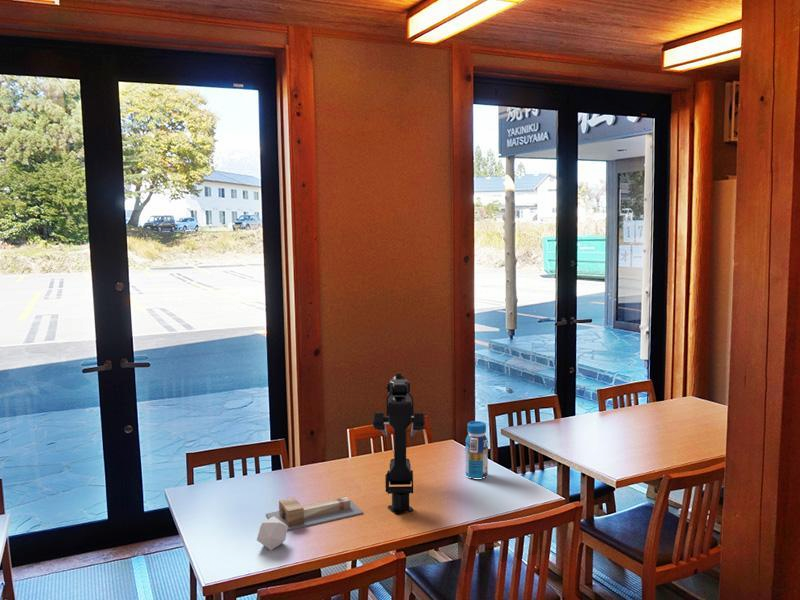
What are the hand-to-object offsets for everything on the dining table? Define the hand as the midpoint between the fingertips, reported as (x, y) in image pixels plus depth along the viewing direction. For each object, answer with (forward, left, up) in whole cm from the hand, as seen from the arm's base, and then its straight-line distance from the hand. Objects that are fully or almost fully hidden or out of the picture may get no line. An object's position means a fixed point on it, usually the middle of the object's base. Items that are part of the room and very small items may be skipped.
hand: (398, 435), depth 244 cm
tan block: (-19, +48, -14) cm, 53 cm away
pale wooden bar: (-19, +37, -14) cm, 44 cm away
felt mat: (-18, +40, -15) cm, 46 cm away
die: (-32, +58, -15) cm, 68 cm away
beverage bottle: (-16, -24, -15) cm, 32 cm away
